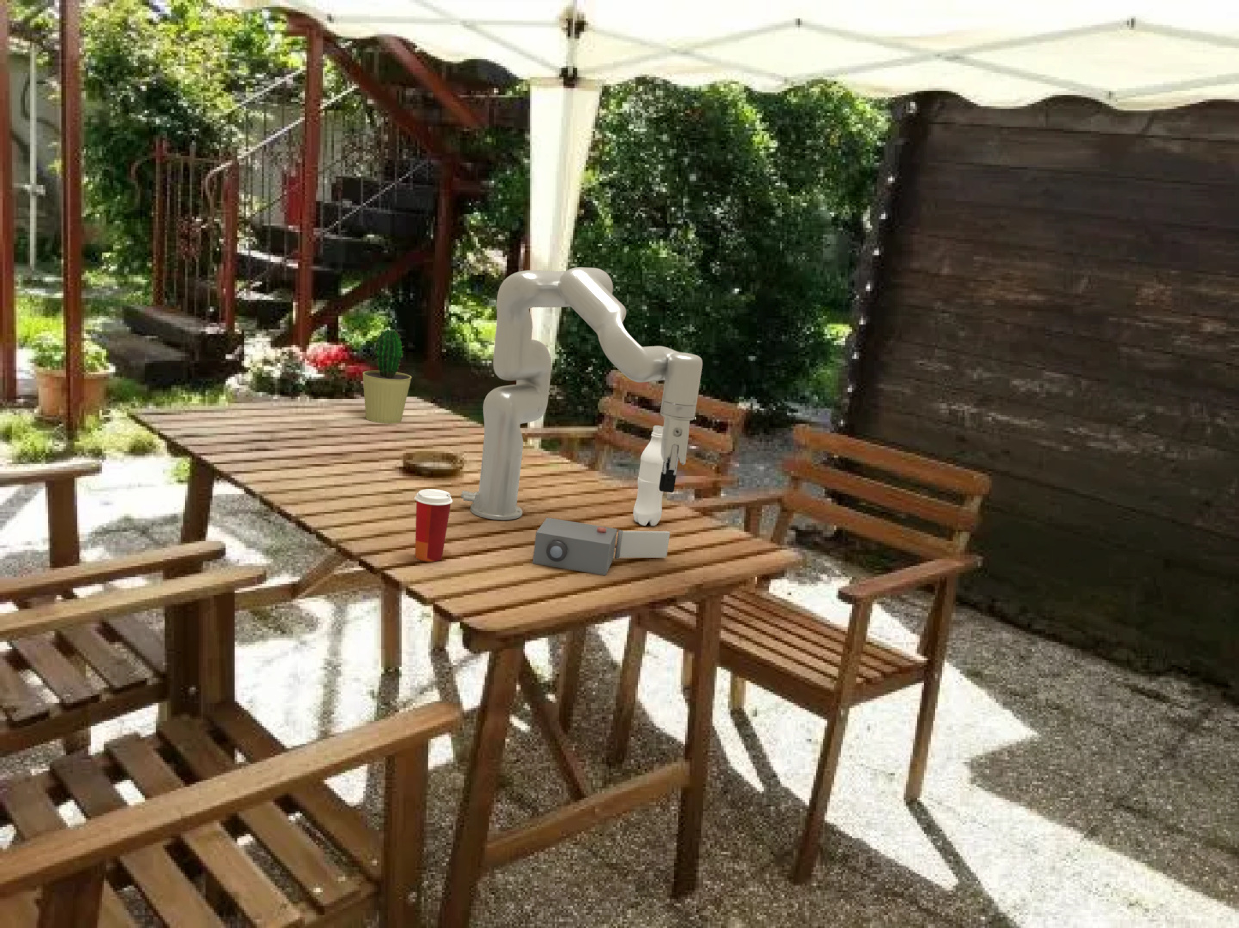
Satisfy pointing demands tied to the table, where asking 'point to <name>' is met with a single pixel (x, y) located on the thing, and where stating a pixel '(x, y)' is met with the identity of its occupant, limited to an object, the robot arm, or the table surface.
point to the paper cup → (431, 523)
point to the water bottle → (650, 482)
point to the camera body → (574, 546)
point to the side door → (642, 544)
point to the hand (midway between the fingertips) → (666, 490)
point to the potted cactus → (386, 382)
